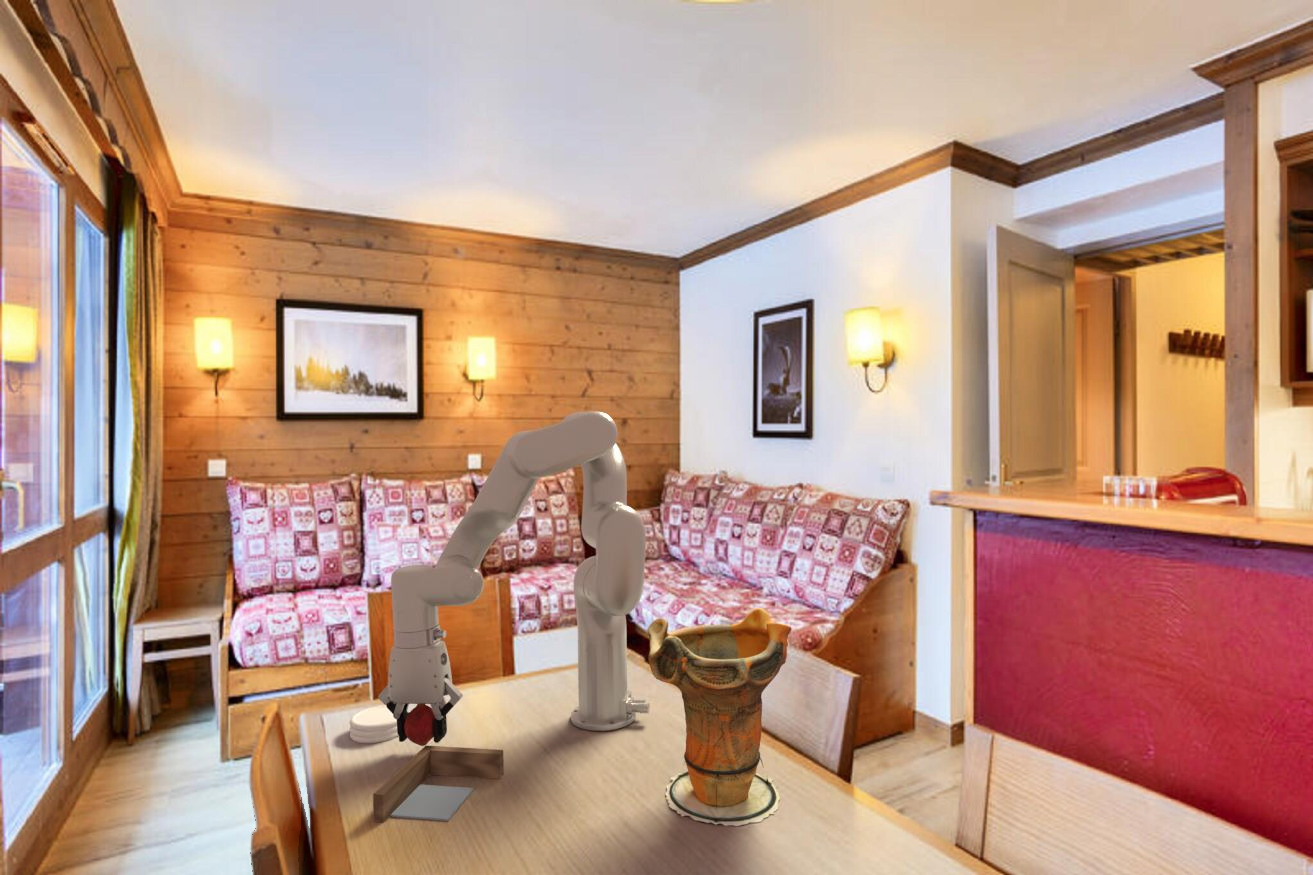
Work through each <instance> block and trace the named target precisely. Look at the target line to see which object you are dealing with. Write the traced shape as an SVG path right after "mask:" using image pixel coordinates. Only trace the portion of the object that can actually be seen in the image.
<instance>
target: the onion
mask: <svg viewBox="0 0 1313 875" xmlns="http://www.w3.org/2000/svg"><path fill="white" fill-rule="evenodd" d="M409 712H410V713H409V714H408V716H407V718H406V721H405V724H404V730H405V734H406V736H407V737H408V738H407V739H408V740H409V741H410V742H412V743H413V744H416V745H418V746H420V747H425V746H427V745H428V743H429V742H430V741H431V740H432V739H434V735H433V720H434V719H435V715H434V712H433V710H432V707H431V706H429V705H428V704H416V706H415V707H413V708H412V709H411V710H410V711H409Z"/></svg>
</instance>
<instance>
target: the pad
mask: <svg viewBox="0 0 1313 875" xmlns="http://www.w3.org/2000/svg"><path fill="white" fill-rule="evenodd" d="M474 790H475V788H474V787H466V786H465V787H462V786H452V785H451V786H449V785H433V784H420V785H419V786H418V787H417V788H416V789H415V790H414V791H413V792H412V793H411V794H410V795H409V796H408V797H407V798H406V799H405V801H404V802H403V803H402V804H401V805H400V806H399V807H398V808H397V809H396V810H395V811H394V812H393V813H392V814H391V816H390V817H391V818H400V819H401V818H403V819H416V820H430V821H443V822H449V821H450V820H451V818H452V817H453V816H454V815H455V813H456V812H457V811H458V810H459V808H460V807H462V805H463V804H464V803H465V801H467V799H468V798H469V796H470V795H471V794H472V793H473V792H474Z"/></svg>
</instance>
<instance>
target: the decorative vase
mask: <svg viewBox="0 0 1313 875" xmlns="http://www.w3.org/2000/svg"><path fill="white" fill-rule="evenodd" d="M668 629H669V621H668V619H665V618H663V617H660V618H656V619H655V620H653V621H652V622H651V624H649V625H648V628H647V629H646V630H647V633H648V637H649V653H648V664H649V667H650V671H651V674H652V675H653V676H654V678H655V679H656V680H658V681H660V682H663V683H667V684H670V685H673V686H675V687H676V688H677V689H679V691H680V692H681V698H682V700H683V709H684V714H685V732H686V736H685V751H684V753H683V758H684V763H683V764H686V768H687V771H685V772H679V773H677V774H676V775H675V776H671V777H670V780H672V781H671V782H670V783H669V784H667V785H666V786H665V787H666V792H665V793H664V794H665V800H667V803H668V807H670V809H672V810H675V811H676V812H677V813H676V814H679V815H680V817H685V816H688V817H690V819H692V820H694V821H699V822H704V823H706V824H710V823H711V824H714V825H718V824H721V825H723V826H724V827H727V826H735V827H739V826H742V825H748V824H750V823H761V822H762V821H763V820H764V819H766V818H768V817H770V816H769V815H775V813H774V812H776V811H777V810H779V801H780V800H781V797H780V794H779V793H780V792H779V790H778V789H777V788H778V786H777V785H775V784H774V783H773V781H774V779H773V778H770V777H767V776H763V775H761V774H759V773H758V772H757V768H758V766H759V763H760V762H761V765H762V768H763V769H764V768H765V767H764V765H763V760H762V757H761V753H760V748H761V746H760V745H761V740H762V730H763V729H762V724H763V722H762V717H763V716H762V715H763V698H762V694H763V692H764V691H765V689H767V687H768V686H769V685H770V684H771V682H772V681H773V680H774V679H775V678H776V676H777V675H778V674H779V672H780V670H781V668H782V666H783V665H785V663H786V662H787V657H788V653H787V652H788V646H789V642H788V636H789V634H791V631H792V626H790V625H789V624H788V625H787V624H784V623H781V622H780V623H778V622H774V621H773V620H772V618H771V616H770V615H769V613H768V611H767V610H766V609H764V608H761V607H757V608H754V609H753V610H752V611H750V612H749V613H748V614H747V615H746V616H745V617H744V618H743V620H742V621H740V622H736V623H734V624H733V623H732V624H702V625H701V624H700V625H693V626H687V627H681V628H679V629H675V630H673V631H670V632H668Z"/></svg>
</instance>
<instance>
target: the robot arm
mask: <svg viewBox="0 0 1313 875" xmlns="http://www.w3.org/2000/svg"><path fill="white" fill-rule="evenodd" d="M618 432H619V431H618V427H617V425H616V423H615V420H614V419H613V418H612V417H611V416H610V415H609V414H607V413H605V412H602V411H598V410H589V411H578V412H573V413H571V414H568V415H566V416H565V417H564V418H563V419H561V421H560V422H558V423H556V424H553V425H549V426H545V427H542V428H538V429H533V430H522V431H518V432H515V434H513V435H512V436H510V438H509V439H508V440H507V442H506V443H505V444H504V446H503V448H502V450H501V452H500V453H499V456H498V457H497V459H496V461H495V463H494V464H493V466H492V469H491V470H490V472H489V474H488V476H487V478H486V480H485V481H484V484H483V485H482V487H481V489H480V491H479V492H478V494H477V495H476V498H475V499H474V501H473V502H472V504H471V505H470V506H469V508H468V509H467V512H465V514H464V516H463V517H462V519H461V520H460V521H459V523H458V525H457V526H456V527H455V529H454V531H453V533H452V534H451V535H450V538H449V539H448V541H447V543H446V545H445V547H444V548H443V550H442V553H441V554H440V556H439V557H438V560H437V561H436V564H435V567H433V566H431V565H428V564H411V565H405V566H401V567H399V568H396V569H395V570H393V572H392V574H391V578H390V586H391V588H390V589H391V602H392V604H391V606H392V621H393V622H392V623H393V640H394V642H393V643H394V645H392V646H391V649H390V655H389V662H388V677H387V679H388V680H387V681H388V683H387V685H386V686H385V687H384V689H383V690H382V691H381V692H380V693H379V695H378V699H379V701H380V702H381V703H382V704H383V705H384V706H387V708H388V709H389V710H390V711H391V712H392V713H393V717H394V718H395V719H397V733H398V735H399V736H398V741H399V743H400V742H401V743H404V741H406V740H407V739H408V737H407V736H406V734H405V730H404V724H405V721H406V718H407V716H408V714H409V713H410V712H411V711H408V709H409V707H410V705H412V704H413V705H417V704H425V705H430V707H431V708H432V710H433V712H434V715H435V719H434V720H433V735H434V737H433V743H437V744H439V743H440V742H441V740H443V739H444V738H445V737H446V735H447V733H448V727H447V726H448V724H447V723H448V722H447V714H448V713H449V712H450V711H451V710H452V709H453V708H454V707H455V705H456V704H457V703H458V702H460V700H462V699H463V693H462V692H461V691H460V690H459V689H458V688H457V687H456V686H455V685H454V684H453V677H452V669H451V662H450V658H449V653H448V652H449V651H448V649H447V645H446V643H445V641H444V640H441V639H445V638H446V637H447V631H446V630H444V629H441V625H440V624H439V607H461V606H467V605H469V604H472V603H474V602H475V601H477V600H478V599H479V598H480V596H481V594H482V593H483V590H484V587H485V585H484V584H485V583H484V582H485V581H484V577H483V574H482V572H481V571H480V570H479V567H480V564H482V561H483V559H484V557H485V555H486V554H487V552H488V550H489V549H490V547H491V546H492V544H493V543H494V542H495V541H496V540H497V539H498V537H499V536H500V535H502V534H503V533H504V532H505V531H507V530H508V529H509V530H510V528H511V527H512V526H514V524H515V523H516V522H517V521H518V520H519V518H520V517H521V515H522V513H523V510H524V509H525V507H526V504H527V503H528V501H529V499H530V496H531V495H532V493H533V491H534V489H535V487H536V486H537V484H538V483H539V482H538V481H539V480H540V478H546V477H549V476H553V475H556V474H560V473H562V472H565V471H567V470H570V469H573V468H575V467H578V466H580V468H581V470H582V477H583V479H582V480H583V485H582V486H583V494H582V497H583V498H582V509H581V510H582V513H581V514H582V515H581V526H580V529H581V534H582V538H583V539H584V541H585V542H586V543H587V544H588V545H589V546H590V547H592V548H594V549H595V550H596V554H595V555H593V556H590V557H588V558H586V559H585V560H583V561H582V562H581V563H580V564H579V565H578V567H577V569H576V571H575V573H574V576H573V577H574V578H573V593H574V594H573V595H574V602H575V609H576V622H577V623H576V624H577V674H578V676H577V679H578V706H576V707H575V708H574V709H573V710H572V711H571V713H570V719H571V720H570V721H571V723H572V724H573V725H575V727H578V728H580V729H583V730H588V731H595V732H596V731H597V732H604V731H605V732H606V731H611V730H612V731H613V730H618V729H621V728H624V727H625V728H626V726H628V725H630V724H632V723H633V722H634V721H635V720H636V713H639V714H649V713H650V708H651V707H650V702H646V699H645V698H642V699H641V698H639V699H638V698H637V699H636V698H634V697H632V691H631V690H628V657H627V656H628V655H627V652H628V650H627V649H628V648H627V647H628V646H627V641H628V640H627V637H628V636H627V632H628V631H627V619H626V618H627V617H626V615H628V614H629V613H631V612H633V611H634V610H635V609H636V607H637V606H638V605H639V603H640V600H641V598H642V595H643V593H644V592H643V591H644V582H645V568H646V567H645V565H646V544H647V540H646V539H647V536H646V528H645V523H644V521H643V518H642V517H641V515H640V514H639V513H638V511H636V510H635V509H633V508H632V507H630V506H629V505H628V503H627V502H628V501H627V500H628V498H627V496H628V487H627V486H628V483H627V482H628V480H627V479H628V475H627V467H626V463H625V462H626V461H625V458H624V455H623V453H622V451H621V449H620V447H619V446H618V444H617V441H618V435H619V434H618ZM444 696H448V697H450V698H449V700H448V702H447V701H446V700H445V699H446V698H445V697H444Z"/></svg>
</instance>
